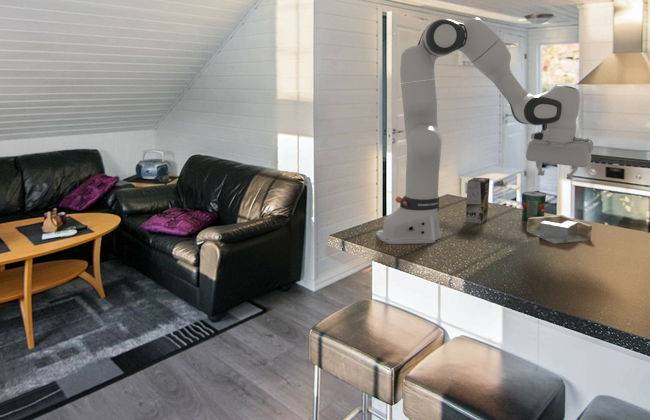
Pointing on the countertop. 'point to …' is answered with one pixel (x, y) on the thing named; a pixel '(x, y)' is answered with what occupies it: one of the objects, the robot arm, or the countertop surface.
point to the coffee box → (477, 200)
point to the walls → (582, 228)
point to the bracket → (558, 230)
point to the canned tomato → (533, 205)
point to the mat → (559, 241)
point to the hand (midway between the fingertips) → (555, 177)
